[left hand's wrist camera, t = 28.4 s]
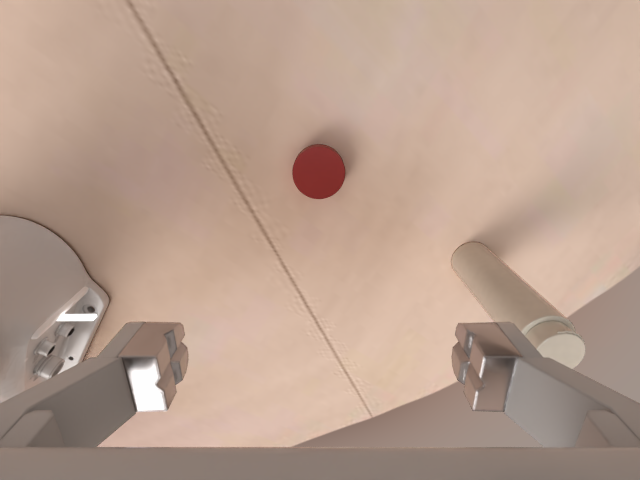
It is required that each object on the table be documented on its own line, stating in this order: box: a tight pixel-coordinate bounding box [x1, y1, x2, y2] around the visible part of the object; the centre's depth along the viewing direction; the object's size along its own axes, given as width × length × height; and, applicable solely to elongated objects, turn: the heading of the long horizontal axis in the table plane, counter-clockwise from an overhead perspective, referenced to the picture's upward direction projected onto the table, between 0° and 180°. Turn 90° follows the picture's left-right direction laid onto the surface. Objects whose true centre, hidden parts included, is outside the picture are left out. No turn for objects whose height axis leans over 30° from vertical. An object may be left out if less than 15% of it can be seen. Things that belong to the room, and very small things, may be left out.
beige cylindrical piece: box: [451, 242, 586, 369], centre depth 32 cm, size 4×4×16 cm
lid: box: [293, 144, 345, 199], centre depth 35 cm, size 5×5×2 cm
